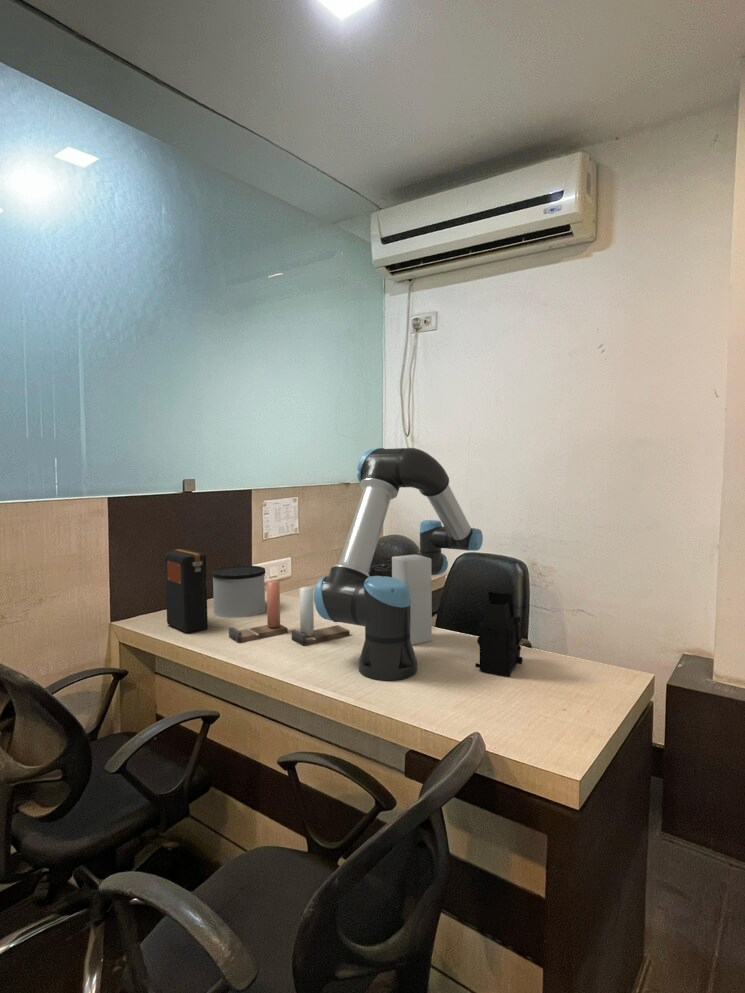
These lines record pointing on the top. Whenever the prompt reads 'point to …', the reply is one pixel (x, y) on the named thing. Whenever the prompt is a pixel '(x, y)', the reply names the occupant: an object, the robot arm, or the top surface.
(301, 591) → the grey plug
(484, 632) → the camera
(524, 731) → the top surface
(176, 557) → the voltmeter
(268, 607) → the terracotta plug
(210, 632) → the top surface
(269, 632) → the brown base
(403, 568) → the tall white carton
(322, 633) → the brown wooden board
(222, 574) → the container
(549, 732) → the top surface
